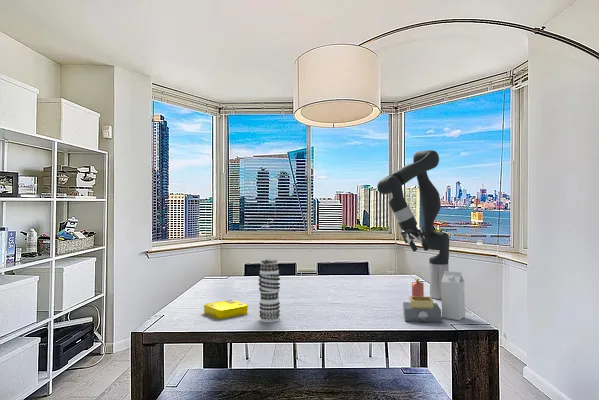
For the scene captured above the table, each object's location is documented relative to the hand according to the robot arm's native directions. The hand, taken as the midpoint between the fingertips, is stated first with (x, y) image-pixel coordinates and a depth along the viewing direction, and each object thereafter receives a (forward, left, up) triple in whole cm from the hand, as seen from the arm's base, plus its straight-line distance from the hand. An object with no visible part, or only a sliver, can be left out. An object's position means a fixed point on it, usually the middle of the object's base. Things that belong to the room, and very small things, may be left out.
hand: (421, 250), depth 183 cm
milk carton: (+10, +11, -27) cm, 31 cm away
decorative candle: (+24, -64, -27) cm, 73 cm away
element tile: (+17, -86, -27) cm, 92 cm away
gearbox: (+13, -2, -27) cm, 30 cm away
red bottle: (-1, -2, -27) cm, 27 cm away
